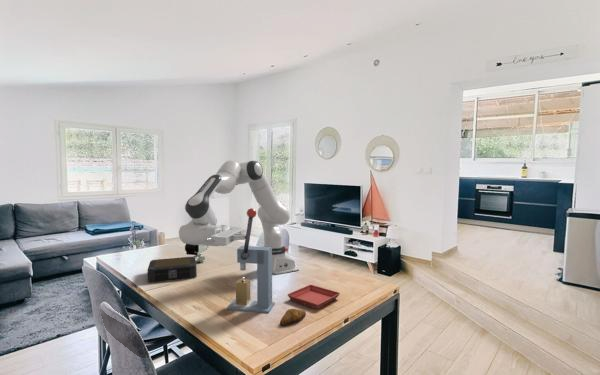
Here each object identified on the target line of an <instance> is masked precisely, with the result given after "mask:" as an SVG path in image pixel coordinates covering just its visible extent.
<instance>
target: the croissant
mask: <svg viewBox="0 0 600 375" xmlns="http://www.w3.org/2000/svg"><path fill="white" fill-rule="evenodd" d="M306 314H307V313H306V311H305V310H303V309H296V308H290V309H287V310H286V312H285V313H284V315H283V316H282V317H281V319H280V321H279V324H280V325H281V326H288V325H291V324H293V323H297V322H299V321H300V320H302V319H303V318H305V316H306Z"/></svg>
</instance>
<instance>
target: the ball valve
mask: <svg viewBox="0 0 600 375" xmlns="http://www.w3.org/2000/svg"><path fill="white" fill-rule="evenodd" d="M208 248H209V246H206V245H203V244H202V245H191V244H186V243H185V245H184V251H185V252H186V255H190V256H192V257H195V260H196V264H197V263H203V262H205V260H206V257H205V255H203V254H202V253H203V252H206V251H207V250H208Z"/></svg>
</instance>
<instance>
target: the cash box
mask: <svg viewBox="0 0 600 375" xmlns="http://www.w3.org/2000/svg"><path fill="white" fill-rule="evenodd" d="M197 271H198V270H197V263H196V260H195V257H193V256H183V257H172V258H170V257H169V258H162V259H160V258H159V259H151V260H150V262H149V264H148V267H147V282H148V283H149V284H151V283H152V282H153V283H160V282H162V283H163V282H169V281H179V280H180V281H181V280H189V279H196V278H197V273H198V272H197ZM153 283H152V284H153Z"/></svg>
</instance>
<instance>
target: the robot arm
mask: <svg viewBox="0 0 600 375" xmlns="http://www.w3.org/2000/svg"><path fill="white" fill-rule="evenodd" d="M247 183H248V185H249V187H250V191H251V192H252V194H253V197H254V198H255V201H256V203H257V204H259V205H260V206H259V208H258V209H257V216H258V218H259V220H260V223H261V226H262V230H263V247H272V275H273V274H274V275H280V274H285V273H286V274H287V273H292V271H293V272H297V270H298V271H299V270H300V267H299V266H298V265H297V264H296V261H295V258H294V257H293V256H291V255H290V254H289V253H288V251H289V248H288V247H286V246H284V245H283V244H284V243H283V242H284V240H283V238H284V237H283V232H282V230H281V228H280V226H281V225H283V226H284V225H286V224H287V223H288V222H289V221H290V218H291V213H290V211H289V210H288V209H287V208H286V207H285V206H284V205H283V204H282V202H281V201H280V199H279V198H278V196H276V194H275V193H274V190H273V188H272V185H271V184H270V182H269V179H268V178H267V176H266V174H265V173H264V169H263V166H262V164H261V163H260V162H258V160H249V161H245V162H244V161H243V162H241V163H238V162H237V161H235V160H231V159H230V160H226V161H225V162H224V163H223V164H222V165H221V167H219V169H218V171H217V172H216V174H213V175H210V176H209V177H208V178H207V180H205V181H204V183H203V184H202V185H201V187H200V188H199V189H198V190H197V192H195V193H194V195H192V196H191V197H190V198H189V199H188V200H187V201H186V203H185V205H184V209H185V212H186V213H187V214H188V216H189V217H190V218H191V220H190V221H189V222H188V223H186V224H184V225H181V226H180V227H179V229H178V236H179V239H180V241H181V242H182V243H183V244H185V245H186V244H191V245H202V244H203V245H206V246H208V247H219V246H220V247H224V246H227V245H229V244H232V243H234V242H236V241H245V238H246V233H244V229H243V228H242V227H236V226H227V225H226V224H225V225H224V224H223V225H222V224H220V225H217V223H218V219H217V217H216V214H215V212H214V211H213V209H212V207H211V203H210V198H211V197H212V196H213V194H214V193H218V194H221V195H226V194H230V193H231V192H232V191H233V190H234V189H235V187H236V186H237V185H243V184H244V185H245V184H247Z"/></svg>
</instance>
